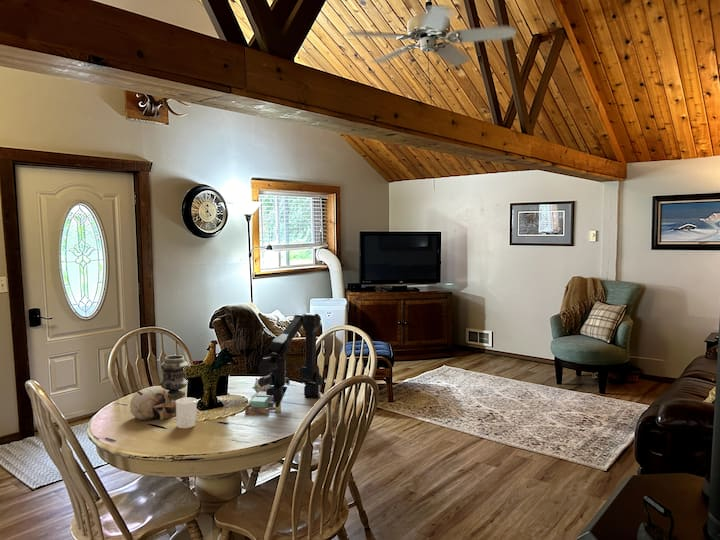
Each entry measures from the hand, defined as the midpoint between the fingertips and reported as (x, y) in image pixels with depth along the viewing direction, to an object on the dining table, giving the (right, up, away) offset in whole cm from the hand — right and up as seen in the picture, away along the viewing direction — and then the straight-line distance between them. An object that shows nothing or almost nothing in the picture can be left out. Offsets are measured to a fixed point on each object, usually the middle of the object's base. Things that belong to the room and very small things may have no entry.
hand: (278, 405), depth 219 cm
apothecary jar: (-52, 0, +20) cm, 55 cm away
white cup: (-33, -3, -19) cm, 38 cm away
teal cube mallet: (-5, -2, 0) cm, 6 cm away
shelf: (-8, -2, +5) cm, 9 cm away
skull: (-49, -2, -9) cm, 49 cm away
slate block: (-8, -2, +9) cm, 12 cm away
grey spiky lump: (-11, -1, +23) cm, 26 cm away
